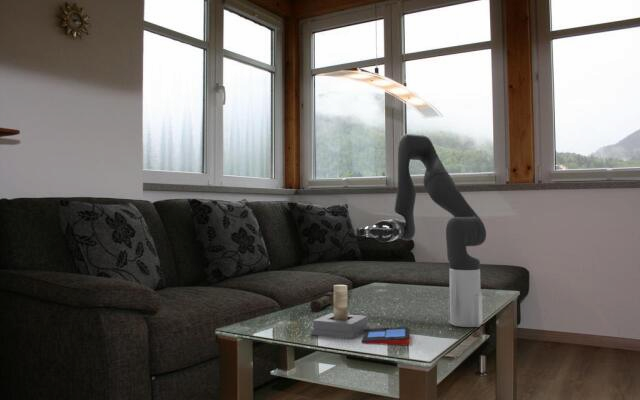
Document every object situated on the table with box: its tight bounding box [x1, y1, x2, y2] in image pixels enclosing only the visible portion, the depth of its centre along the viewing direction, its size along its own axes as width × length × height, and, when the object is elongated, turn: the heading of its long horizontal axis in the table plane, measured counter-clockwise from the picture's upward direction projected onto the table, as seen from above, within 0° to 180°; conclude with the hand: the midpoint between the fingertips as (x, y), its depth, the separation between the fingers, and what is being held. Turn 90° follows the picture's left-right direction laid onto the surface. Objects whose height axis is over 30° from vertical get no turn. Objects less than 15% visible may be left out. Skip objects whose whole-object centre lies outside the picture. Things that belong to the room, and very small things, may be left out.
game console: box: [361, 326, 411, 346], centre depth 146 cm, size 14×13×2 cm
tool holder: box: [310, 312, 371, 340], centre depth 154 cm, size 13×13×4 cm
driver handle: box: [333, 284, 349, 321], centre depth 154 cm, size 4×4×12 cm
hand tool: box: [309, 291, 334, 312], centre depth 195 cm, size 19×4×5 cm, turn 157°
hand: (371, 232), depth 168 cm, fingers open, 8 cm apart
